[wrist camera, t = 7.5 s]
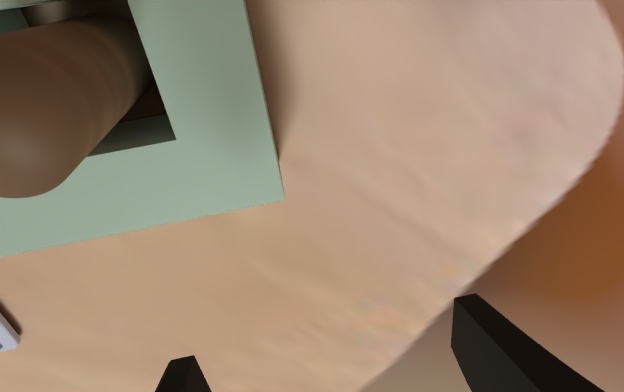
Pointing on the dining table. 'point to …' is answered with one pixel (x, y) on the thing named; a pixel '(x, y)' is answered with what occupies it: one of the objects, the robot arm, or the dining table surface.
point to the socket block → (164, 135)
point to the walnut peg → (64, 96)
